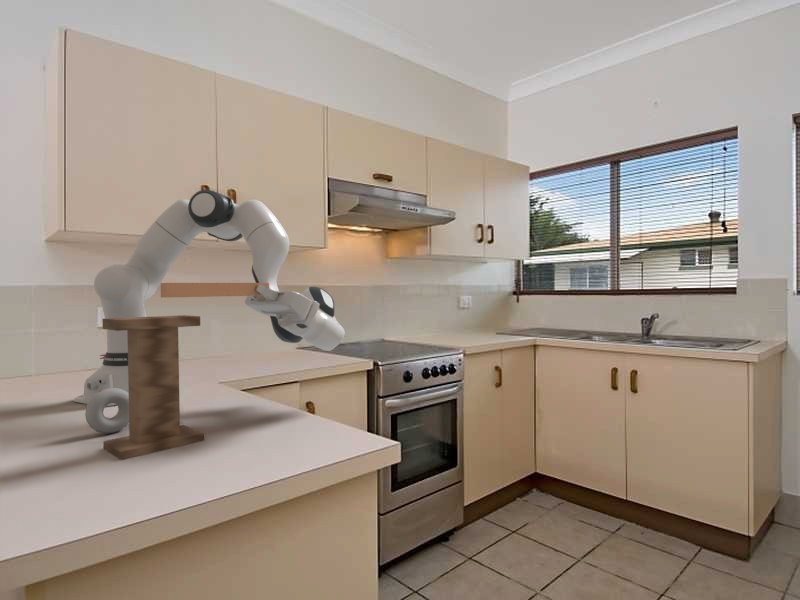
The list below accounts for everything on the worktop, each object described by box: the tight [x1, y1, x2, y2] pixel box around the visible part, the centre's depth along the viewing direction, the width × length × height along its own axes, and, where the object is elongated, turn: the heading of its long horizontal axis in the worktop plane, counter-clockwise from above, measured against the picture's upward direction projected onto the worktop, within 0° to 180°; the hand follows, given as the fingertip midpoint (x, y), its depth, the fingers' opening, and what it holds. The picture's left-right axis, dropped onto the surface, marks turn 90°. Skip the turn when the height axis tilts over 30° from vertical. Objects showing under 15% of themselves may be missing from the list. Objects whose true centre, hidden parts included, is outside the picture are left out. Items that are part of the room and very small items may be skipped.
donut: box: [84, 388, 129, 434], centre depth 110 cm, size 10×4×10 cm, turn 141°
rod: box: [160, 282, 269, 298], centre depth 111 cm, size 24×3×3 cm, turn 137°
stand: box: [101, 314, 205, 461], centre depth 101 cm, size 16×10×26 cm, turn 137°
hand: (251, 287), depth 117 cm, fingers closed on rod, 3 cm apart
